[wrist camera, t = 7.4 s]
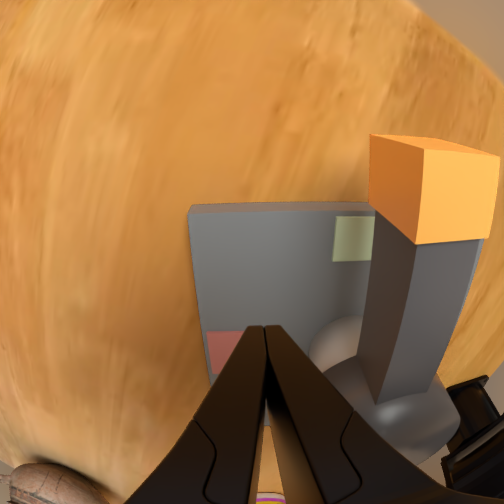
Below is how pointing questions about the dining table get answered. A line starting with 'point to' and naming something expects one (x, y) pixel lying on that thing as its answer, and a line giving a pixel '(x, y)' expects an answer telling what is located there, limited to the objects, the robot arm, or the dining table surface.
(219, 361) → the base
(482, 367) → the dining table surface
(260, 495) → the supplement bottle
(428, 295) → the lock lever handle
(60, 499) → the cooking pot
